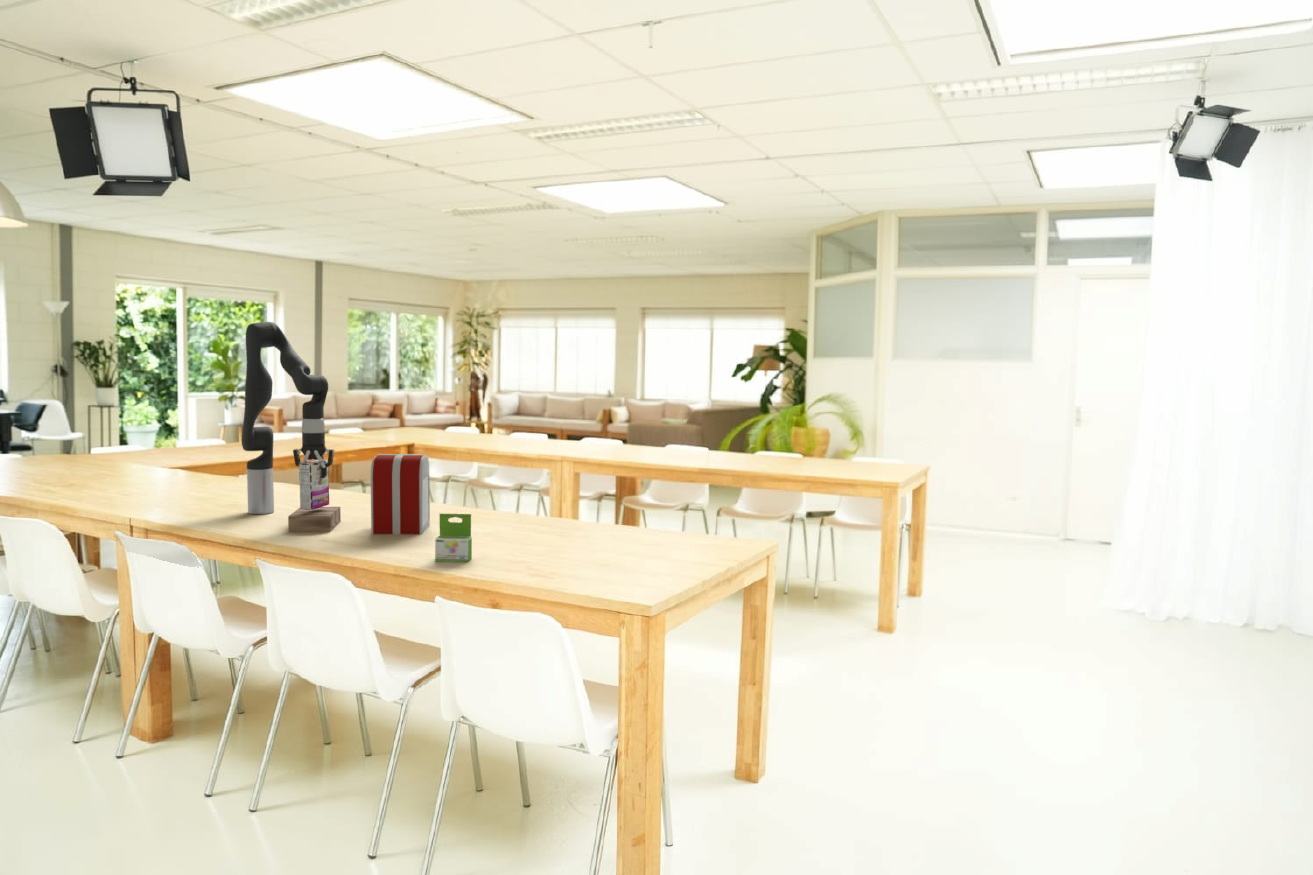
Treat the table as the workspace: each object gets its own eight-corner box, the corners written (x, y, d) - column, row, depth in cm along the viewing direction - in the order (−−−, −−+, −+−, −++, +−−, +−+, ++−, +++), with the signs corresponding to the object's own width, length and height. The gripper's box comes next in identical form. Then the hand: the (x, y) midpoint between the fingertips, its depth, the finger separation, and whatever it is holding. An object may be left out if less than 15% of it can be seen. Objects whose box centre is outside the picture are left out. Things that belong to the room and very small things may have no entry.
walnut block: (300, 523, 320) (300, 507, 319) (340, 522, 322) (340, 506, 321) (288, 533, 302) (288, 516, 301) (330, 532, 304) (330, 515, 304)
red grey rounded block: (381, 524, 318) (380, 451, 315) (430, 524, 319) (429, 452, 317) (370, 534, 301) (369, 457, 299) (422, 534, 303) (421, 457, 300)
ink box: (434, 561, 265) (434, 516, 263) (438, 557, 270) (438, 513, 269) (468, 562, 265) (468, 517, 263) (472, 558, 270) (471, 513, 269)
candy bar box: (317, 504, 317) (316, 459, 315) (329, 504, 316) (329, 460, 314) (298, 509, 306) (298, 463, 305) (311, 510, 305) (311, 464, 304)
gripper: (337, 430, 313) (337, 476, 315) (295, 429, 312) (296, 476, 313) (331, 432, 306) (332, 479, 307) (289, 431, 304) (290, 479, 306)
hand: (314, 477), depth 310 cm, fingers closed on candy bar box, 6 cm apart
